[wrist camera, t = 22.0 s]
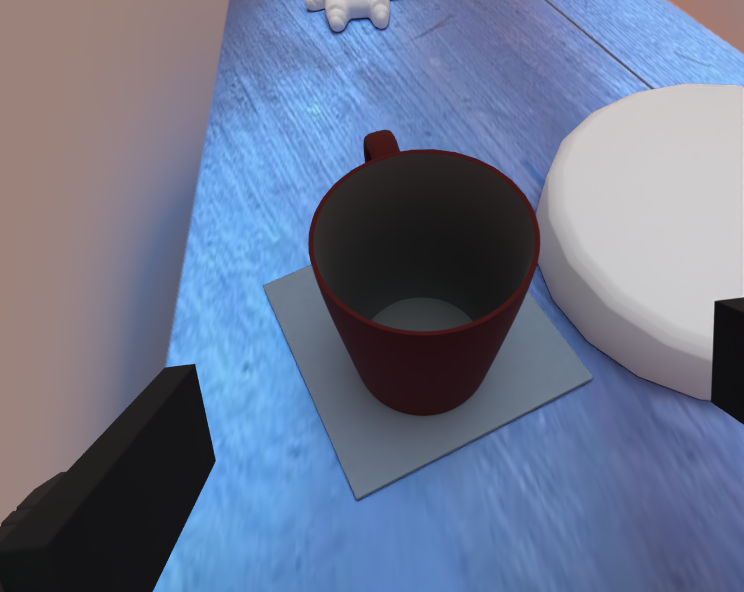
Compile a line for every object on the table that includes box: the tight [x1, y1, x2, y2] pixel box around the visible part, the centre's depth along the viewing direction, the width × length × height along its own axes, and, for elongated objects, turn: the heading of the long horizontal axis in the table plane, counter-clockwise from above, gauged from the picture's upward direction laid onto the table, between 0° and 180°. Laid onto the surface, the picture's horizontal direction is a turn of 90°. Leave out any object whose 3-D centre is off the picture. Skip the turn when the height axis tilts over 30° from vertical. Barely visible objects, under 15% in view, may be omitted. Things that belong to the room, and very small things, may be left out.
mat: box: [263, 265, 593, 500], centre depth 31 cm, size 14×14×1 cm
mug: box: [308, 130, 540, 416], centre depth 26 cm, size 12×9×11 cm
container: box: [536, 84, 744, 401], centre depth 31 cm, size 20×20×5 cm
